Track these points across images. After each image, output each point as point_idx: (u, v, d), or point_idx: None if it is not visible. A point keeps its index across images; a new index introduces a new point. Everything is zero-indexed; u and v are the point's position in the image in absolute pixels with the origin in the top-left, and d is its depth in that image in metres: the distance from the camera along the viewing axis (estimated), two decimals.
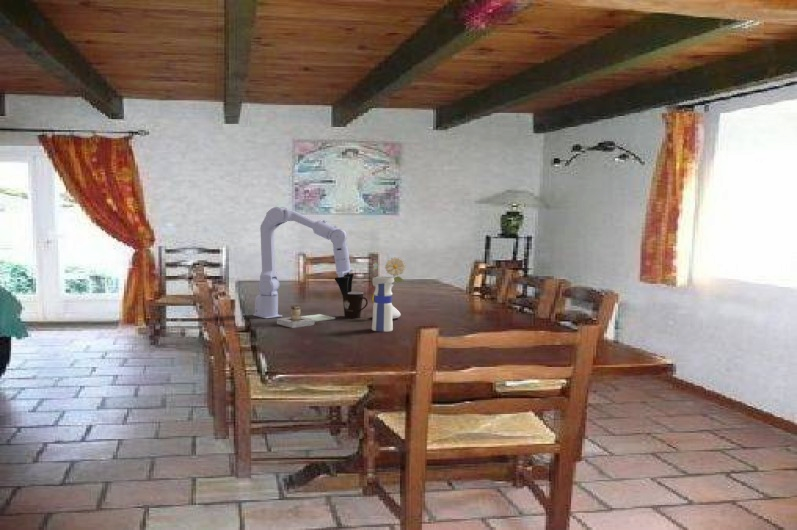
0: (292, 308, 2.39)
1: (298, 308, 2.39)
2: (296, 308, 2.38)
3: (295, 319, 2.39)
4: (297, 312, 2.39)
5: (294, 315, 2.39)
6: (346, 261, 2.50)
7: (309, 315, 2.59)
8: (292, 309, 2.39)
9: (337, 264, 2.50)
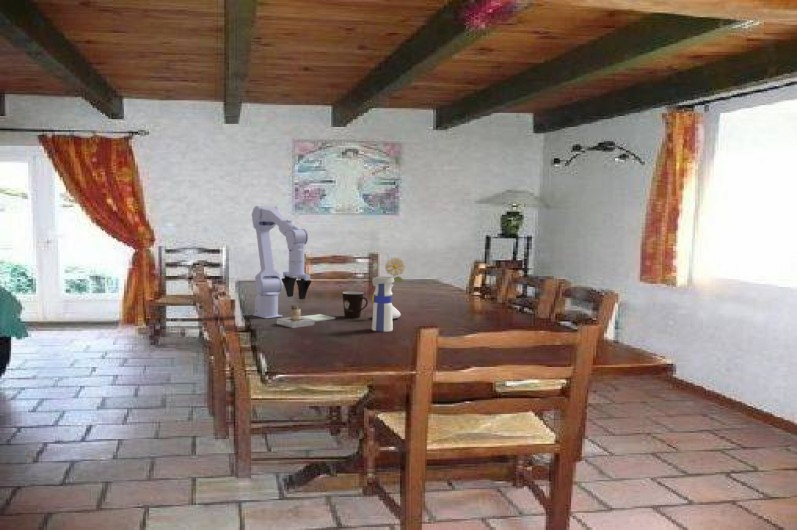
0: (292, 308, 2.39)
1: (298, 308, 2.39)
2: (296, 308, 2.38)
3: (295, 319, 2.39)
4: (297, 312, 2.39)
5: (294, 315, 2.39)
6: None
7: (309, 315, 2.59)
8: (292, 309, 2.39)
9: None
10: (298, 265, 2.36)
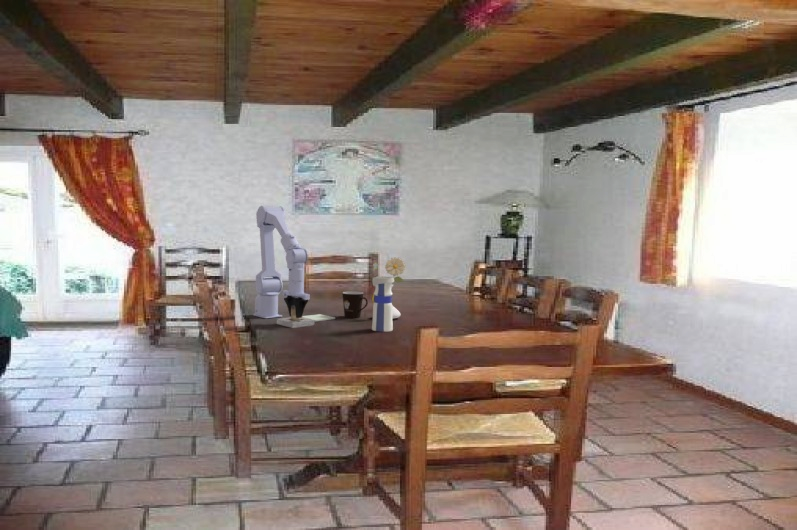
0: (292, 308, 2.39)
1: None
2: None
3: (295, 319, 2.39)
4: None
5: (294, 315, 2.39)
6: None
7: (309, 315, 2.59)
8: (292, 309, 2.39)
9: None
10: (298, 284, 2.37)
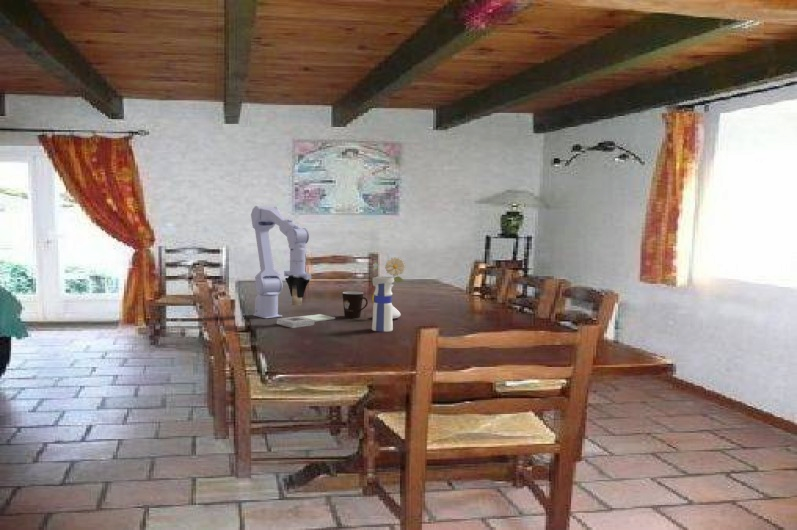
0: (293, 288, 2.39)
1: None
2: None
3: (296, 299, 2.39)
4: None
5: (295, 295, 2.39)
6: None
7: (309, 315, 2.59)
8: (293, 289, 2.39)
9: None
10: (299, 264, 2.37)
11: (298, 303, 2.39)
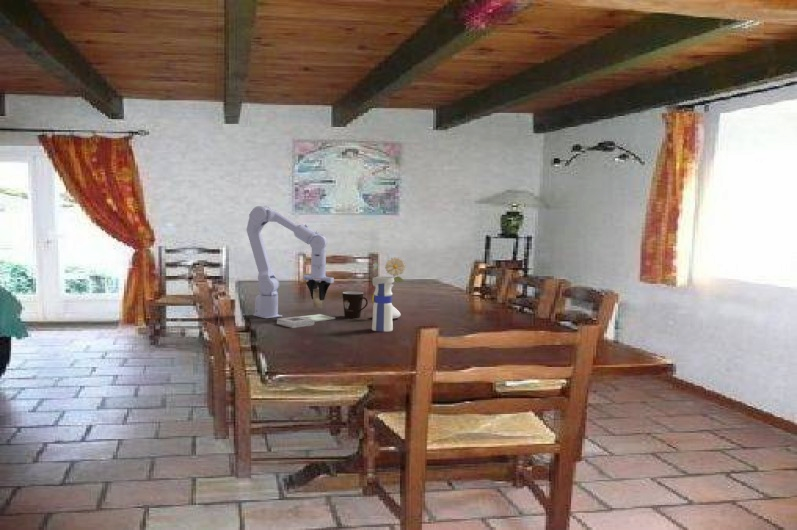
0: (315, 291, 2.53)
1: None
2: None
3: (318, 302, 2.53)
4: None
5: (318, 297, 2.53)
6: (311, 267, 2.53)
7: (309, 315, 2.59)
8: (315, 292, 2.53)
9: None
10: (321, 268, 2.52)
11: (320, 305, 2.54)
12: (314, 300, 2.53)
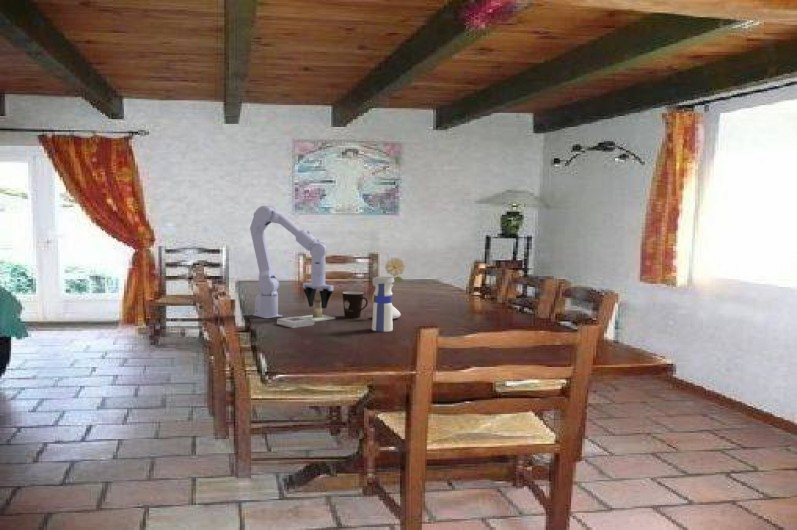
0: (315, 301, 2.53)
1: None
2: (319, 301, 2.53)
3: (318, 312, 2.54)
4: (320, 305, 2.54)
5: (317, 307, 2.53)
6: (311, 275, 2.53)
7: (309, 315, 2.59)
8: (315, 302, 2.53)
9: None
10: (321, 276, 2.52)
11: (320, 315, 2.54)
12: (314, 310, 2.54)
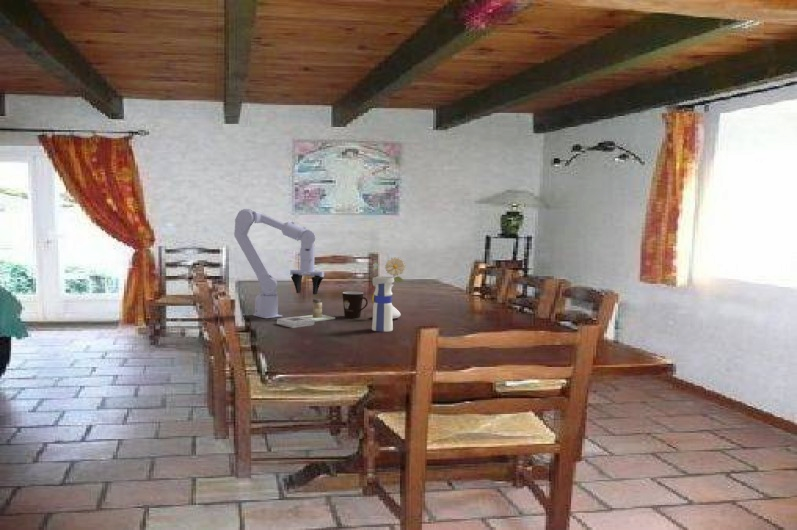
0: (315, 301, 2.53)
1: (320, 301, 2.54)
2: (319, 301, 2.53)
3: (318, 312, 2.53)
4: (320, 305, 2.54)
5: (317, 308, 2.53)
6: (300, 262, 2.56)
7: (309, 315, 2.59)
8: (315, 302, 2.53)
9: None
10: (311, 263, 2.55)
11: (320, 315, 2.54)
12: (314, 310, 2.54)
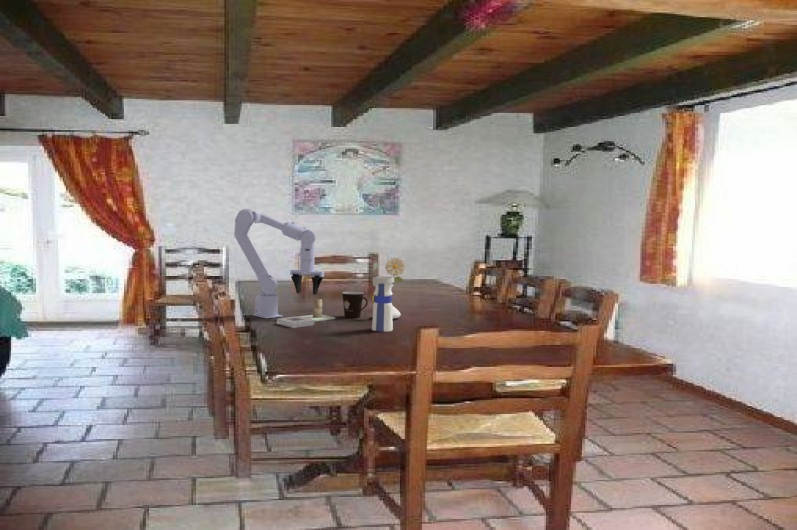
0: (315, 301, 2.53)
1: (321, 301, 2.54)
2: (319, 301, 2.53)
3: (318, 312, 2.53)
4: (320, 305, 2.54)
5: (317, 308, 2.53)
6: (300, 262, 2.56)
7: (309, 315, 2.59)
8: (315, 302, 2.53)
9: None
10: (311, 263, 2.55)
11: (320, 315, 2.54)
12: (314, 310, 2.54)
